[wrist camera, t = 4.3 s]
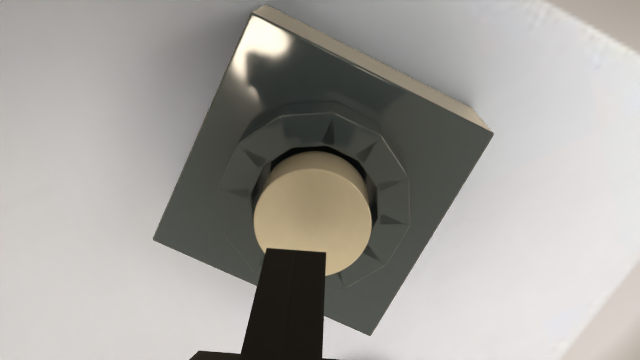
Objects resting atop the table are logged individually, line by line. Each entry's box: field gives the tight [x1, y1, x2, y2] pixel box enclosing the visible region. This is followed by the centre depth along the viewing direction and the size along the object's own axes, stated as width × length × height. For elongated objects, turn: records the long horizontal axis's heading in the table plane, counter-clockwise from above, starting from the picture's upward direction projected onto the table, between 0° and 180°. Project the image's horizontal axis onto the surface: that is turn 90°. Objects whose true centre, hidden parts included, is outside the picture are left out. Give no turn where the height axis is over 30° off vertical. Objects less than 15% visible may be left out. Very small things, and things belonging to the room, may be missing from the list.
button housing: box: [153, 4, 494, 336], centre depth 25 cm, size 10×10×6 cm
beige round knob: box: [253, 151, 372, 276], centre depth 22 cm, size 4×4×2 cm
